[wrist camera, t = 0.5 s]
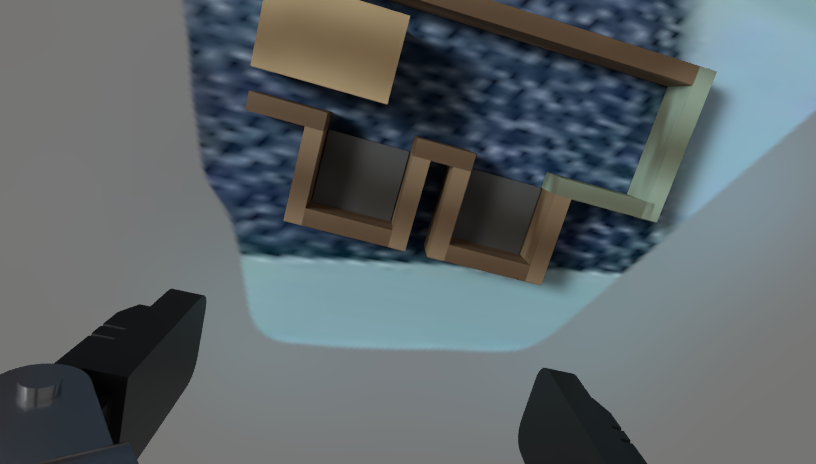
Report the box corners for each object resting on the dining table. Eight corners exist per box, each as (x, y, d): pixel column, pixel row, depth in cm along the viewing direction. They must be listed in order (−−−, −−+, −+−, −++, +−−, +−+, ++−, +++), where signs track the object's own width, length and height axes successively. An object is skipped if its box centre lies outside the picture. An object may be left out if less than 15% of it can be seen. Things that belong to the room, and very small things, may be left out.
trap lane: (289, -52, 33) (280, -67, 30) (689, 74, 36) (716, 71, 33) (238, 198, 36) (226, 206, 33) (605, 291, 40) (623, 306, 37)
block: (288, -5, 33) (268, -28, 28) (405, 30, 34) (410, 15, 29) (272, 72, 35) (250, 65, 29) (386, 104, 35) (387, 104, 30)
